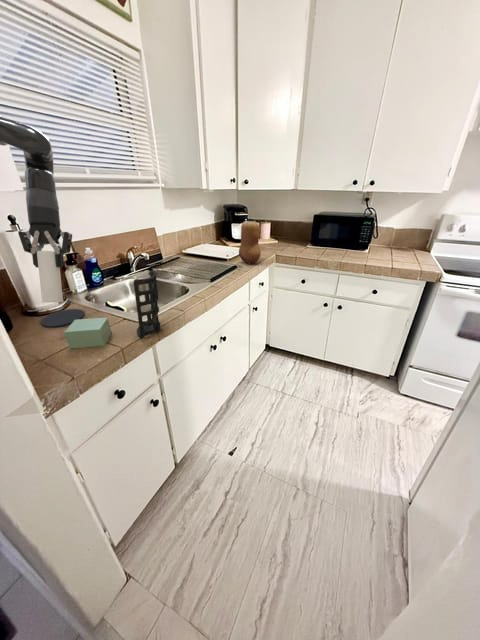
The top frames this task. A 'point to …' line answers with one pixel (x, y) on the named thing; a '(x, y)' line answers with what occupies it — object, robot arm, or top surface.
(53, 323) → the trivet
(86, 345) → the leaning block
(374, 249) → the top surface
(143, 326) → the holder
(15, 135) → the robot arm
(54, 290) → the gray elongated block
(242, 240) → the butternut squash
